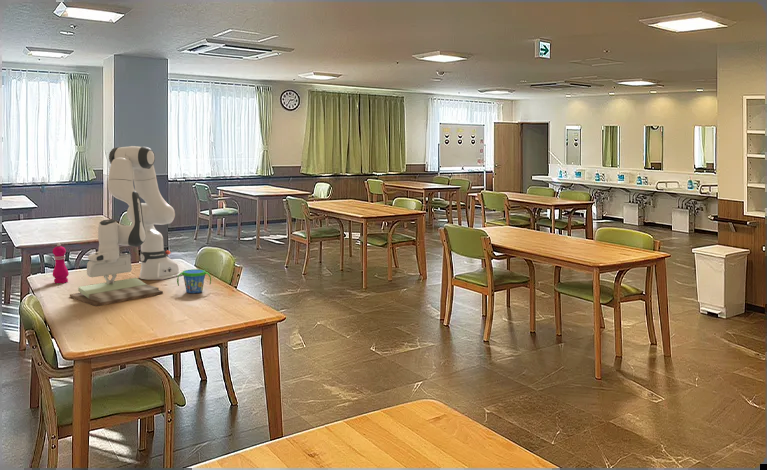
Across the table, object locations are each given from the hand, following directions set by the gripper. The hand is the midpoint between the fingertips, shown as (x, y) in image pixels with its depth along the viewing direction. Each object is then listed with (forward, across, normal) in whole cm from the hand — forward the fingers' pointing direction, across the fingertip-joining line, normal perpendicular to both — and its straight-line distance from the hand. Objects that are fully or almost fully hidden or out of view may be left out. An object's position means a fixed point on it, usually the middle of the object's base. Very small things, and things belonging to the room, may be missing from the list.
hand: (110, 284), depth 305 cm
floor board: (+5, 0, +5) cm, 7 cm away
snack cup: (+5, -29, +25) cm, 38 cm away
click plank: (+2, 0, +2) cm, 3 cm away
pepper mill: (+5, +5, -42) cm, 42 cm away
